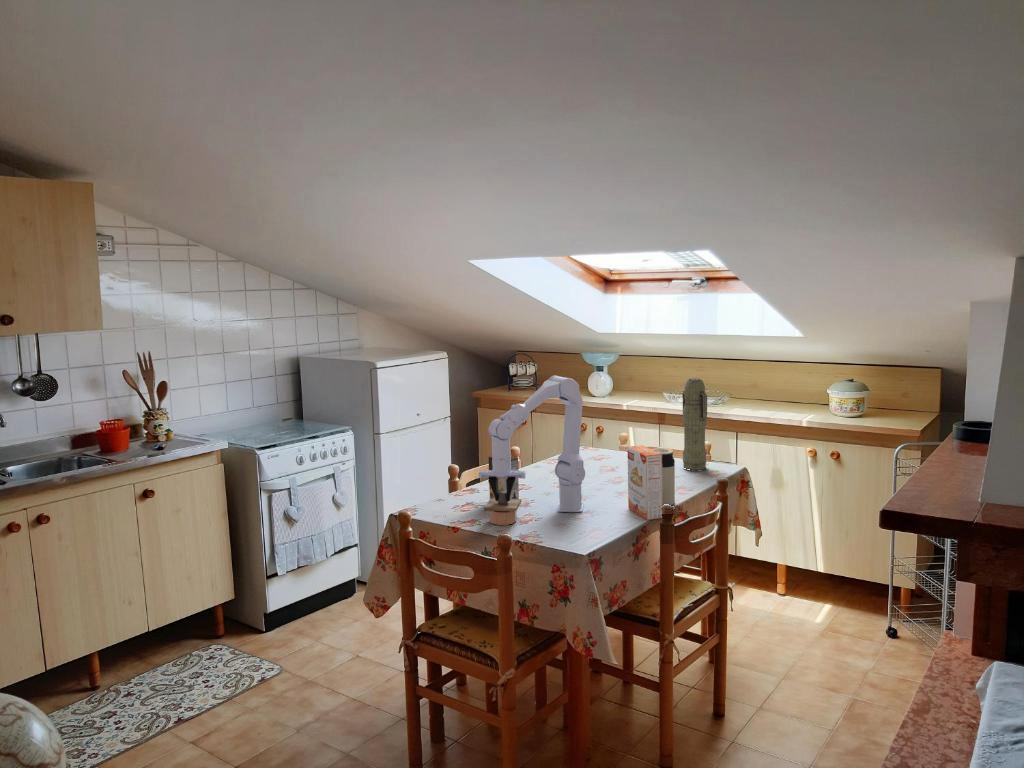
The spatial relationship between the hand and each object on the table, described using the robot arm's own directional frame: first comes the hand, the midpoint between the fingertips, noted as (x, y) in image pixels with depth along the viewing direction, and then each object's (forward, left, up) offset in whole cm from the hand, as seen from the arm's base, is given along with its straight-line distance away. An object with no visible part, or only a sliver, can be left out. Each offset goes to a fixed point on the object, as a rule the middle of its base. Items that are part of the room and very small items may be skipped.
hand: (502, 500), depth 254 cm
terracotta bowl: (0, 0, -7) cm, 7 cm away
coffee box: (-21, -3, -7) cm, 22 cm away
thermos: (-72, +64, -7) cm, 97 cm away
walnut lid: (0, 0, -2) cm, 2 cm away
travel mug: (-23, +50, -7) cm, 56 cm away
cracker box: (-11, +44, -7) cm, 46 cm away
